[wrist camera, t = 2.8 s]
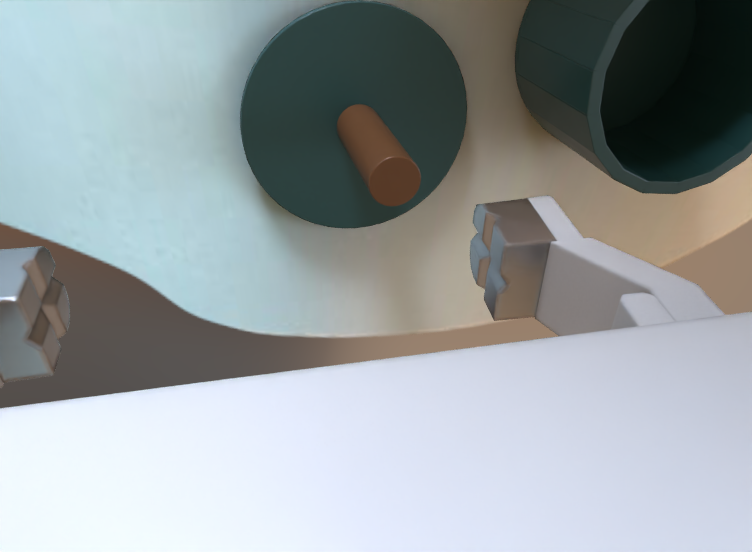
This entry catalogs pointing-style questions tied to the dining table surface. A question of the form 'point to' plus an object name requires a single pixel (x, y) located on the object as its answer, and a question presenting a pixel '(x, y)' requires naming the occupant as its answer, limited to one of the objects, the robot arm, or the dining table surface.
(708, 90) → the pot
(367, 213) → the lid
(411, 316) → the dining table surface
